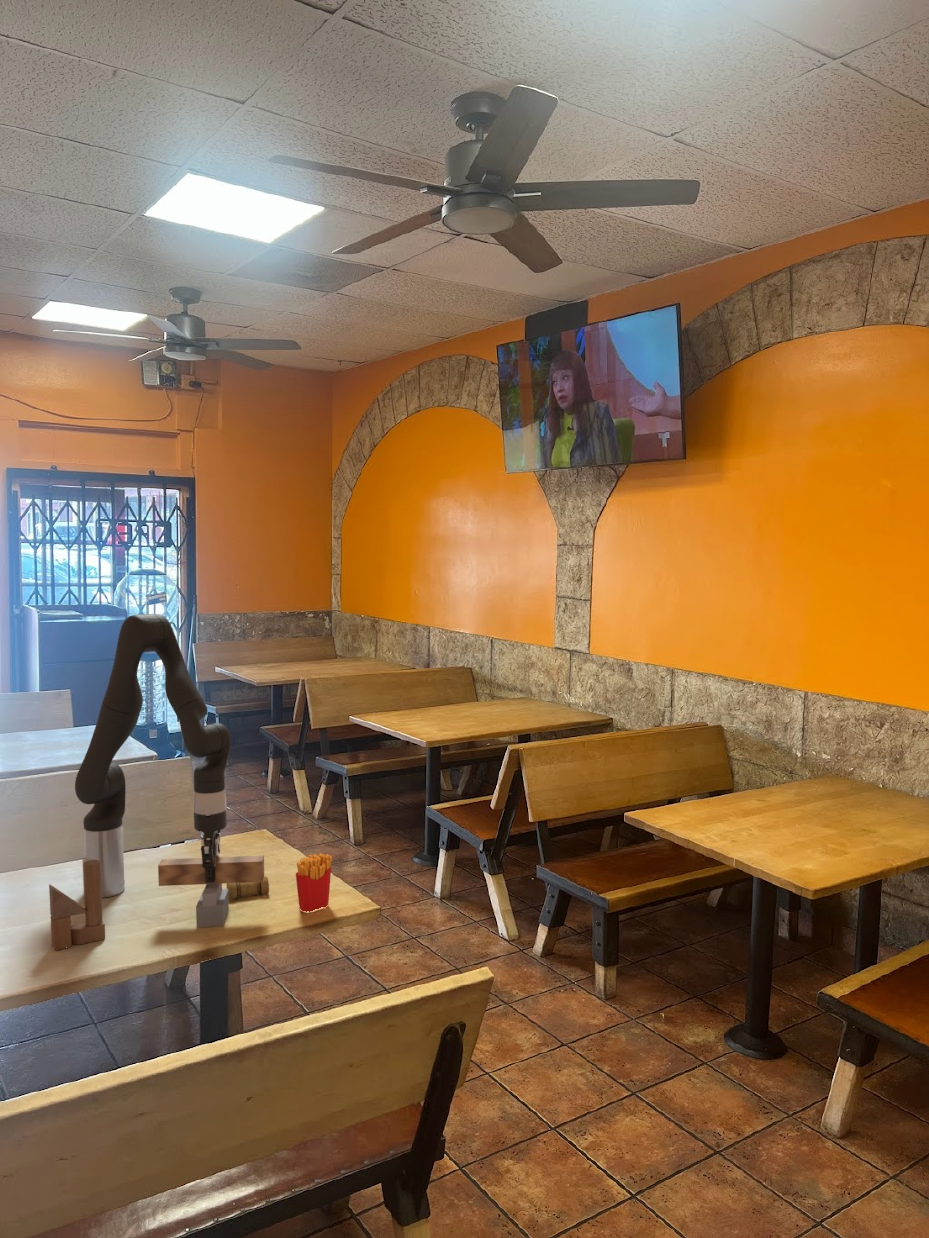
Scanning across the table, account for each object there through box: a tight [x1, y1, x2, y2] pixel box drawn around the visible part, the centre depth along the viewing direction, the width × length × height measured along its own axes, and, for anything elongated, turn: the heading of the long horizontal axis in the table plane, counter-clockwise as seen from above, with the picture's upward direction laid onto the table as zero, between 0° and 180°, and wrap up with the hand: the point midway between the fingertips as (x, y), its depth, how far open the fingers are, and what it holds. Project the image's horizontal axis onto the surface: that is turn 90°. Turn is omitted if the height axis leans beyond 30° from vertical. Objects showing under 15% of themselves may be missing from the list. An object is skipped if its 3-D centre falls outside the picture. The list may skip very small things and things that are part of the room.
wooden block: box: [48, 860, 106, 951], centre depth 205 cm, size 4×11×18 cm, turn 125°
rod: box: [157, 855, 265, 887], centre depth 218 cm, size 24×4×5 cm, turn 97°
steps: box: [195, 883, 230, 928], centre depth 219 cm, size 6×10×8 cm, turn 7°
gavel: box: [226, 875, 270, 901], centre depth 240 cm, size 21×5×10 cm
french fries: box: [295, 852, 333, 912], centre depth 224 cm, size 9×4×13 cm, turn 128°
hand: (211, 878), depth 218 cm, fingers closed on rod, 4 cm apart
